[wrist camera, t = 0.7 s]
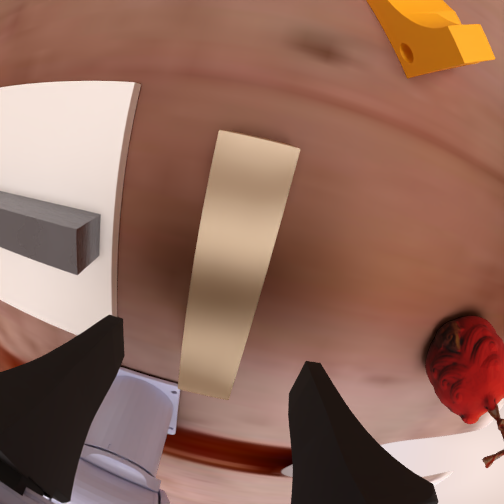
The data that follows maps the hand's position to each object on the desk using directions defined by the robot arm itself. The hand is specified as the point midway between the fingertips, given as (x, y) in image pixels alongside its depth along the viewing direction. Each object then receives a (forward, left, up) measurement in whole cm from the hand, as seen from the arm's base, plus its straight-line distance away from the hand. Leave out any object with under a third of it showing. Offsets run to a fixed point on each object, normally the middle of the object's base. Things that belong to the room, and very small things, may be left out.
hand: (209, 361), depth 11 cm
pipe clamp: (+21, -6, -10) cm, 24 cm away
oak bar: (0, 0, -10) cm, 10 cm away
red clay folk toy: (-3, -21, -10) cm, 23 cm away
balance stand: (0, +17, -9) cm, 19 cm away
